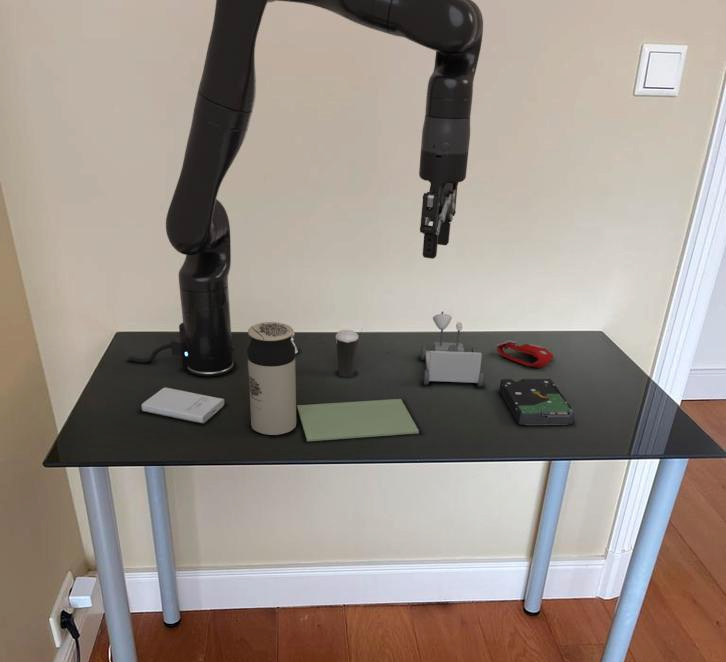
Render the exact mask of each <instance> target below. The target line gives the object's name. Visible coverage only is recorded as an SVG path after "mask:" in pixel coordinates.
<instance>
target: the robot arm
mask: <svg viewBox="0 0 726 662" xmlns="http://www.w3.org/2000/svg"><path fill="white" fill-rule="evenodd" d="M274 2H287V3H297V4H305V5H309V6H313V7H317V8H320V9H324V10H327V11H328V12H330V13H331V12H332V13H333V14H335V15H338V16H340V17H341V18H344V19H346V20H348V21H350V22H353V23H355V24H356V25H360V26H362V27H366V28H369V29H372V30H374V31H376V32H377V31H378V32H380V33H384V34H387V35H390V36H394V37H400V38H404V39H407V40H408V41H411V42H413V43H415V44H417V45H420V46H422V47H424V48H427V49H429V50H432V51H435V57H434V65H433V66H434V67H433V71H432V73H431V75H430V76H429V79H428V82H427V88H426V96H425V109H424V110H425V111H424V112H425V113H424V120H423V125H422V130H421V144H420V154H419V155H420V156H419V157H420V158H419V170H418V177H419V178H420V179H421V180H423V181H426V182H427V181H428V182H429V183H430V186H429V190H428V191H427V192H424V193H423V195H422V203H421V214H420V215H421V216H420V226H419V232H420V234H422V235H423V244H422V257H423V258H426V259H435V258H436V257H437V255H438V254H437V252H438V246H448V244H449V242H450V233H451V232H450V231H451V223H452V222H453V220H454V217H455V215H456V211H457V210H456V208H457V207H456V206H457V196H458V185H459V183H462V182H463V181H465V180H466V178H467V169H468V162H469V161H468V159H469V150H470V140H471V115H472V106H473V97H474V96H473V95H474V81H475V76H476V72H477V68H478V64H479V63H478V62H479V59H480V58H479V57H480V55H481V49H482V42H483V34H484V17H483V14H482V11H481V8H480V7H479V6H478V5H477V4H476V2H475V1H473V0H216V1H215V9H214V16H213V21H212V28H211V31H210V37H209V42H208V46H207V50H206V55H205V60H204V63H203V69H202V73H201V77H200V81H199V85H198V89H197V94H196V98H195V102H194V108H193V113H192V119H191V124H190V129H189V133H188V137H187V141H186V147H185V151H184V157H183V163H182V166H181V169H180V173H179V177H178V180H177V183H176V186H175V189H174V192H173V196H172V198H171V201H170V204H169V207H168V210H167V214H166V218H165V233H166V236H167V239H168V241H169V243H170V245H171V246H172V247H173V249H174V250H175V251H176V252H178V253H180V254H182V255H185V258H184V261H183V264H182V265H181V267H180V268H179V271H178V286H179V287H178V288H179V297H180V307H181V315H182V322H181V323H180V324H179V325H178V330H179V335H177V336H176V337H175V338H173V339H171V340H170V343H168V344H167V343H166V344H164V345H161V346H159V347H156V348H155V349H154V350H153V351H152V353H151V355H150V356H149V357H148V358H137V357H133V356H128V361H129V362H133V363H134V362H135V363H139V364H148V363H151V362H152V361H153V360H154V359H155V357H156V356H157V355H158V353H159V352H162V351H163V350H167V349H171V354H172V355H173V356H179V357H181V360H182V369H183V370H184V371H187V372H188V373H190V374H192V375H194V376H197V377H203V378H205V377H206V378H211V377H219V376H224V375H226V374H228V373H230V372H231V371H233V370H234V368H235V365H234V356H233V354H235V348H234V346H233V341H232V323H231V307H230V306H231V305H230V294H229V293H230V292H229V273H230V272H231V271H230V270H231V265H232V254H231V253H232V248H231V247H232V246H231V242H232V241H231V225H230V219H229V216H228V213H227V210H226V208H225V206H224V205H223V203H222V202H221V201H220V200H219V199H218V198H217V197H218V194H219V192H220V191H219V190H220V188H221V185H222V183H223V181H224V178H225V177H226V174H227V173H228V171H229V170H230V168H231V166H232V164H233V163H234V161H235V159H236V158H237V156H238V154H239V152H240V150H241V148H242V146H243V144H244V141H245V139H246V137H247V134H248V131H249V127H250V123H251V120H252V119H251V118H252V115H253V111H254V107H255V103H256V95H257V76H256V75H257V74H256V58H255V57H256V44H257V38H258V33H259V30H260V27H261V24H262V21H263V15H264V13H265V10H266V7H267V4H269V3H274ZM430 223H432V225H429V224H430Z"/></svg>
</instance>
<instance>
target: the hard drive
mask: <svg viewBox="0 0 726 662" xmlns="http://www.w3.org/2000/svg"><path fill="white" fill-rule="evenodd" d="M224 406H225V398H221V397H216V396H215V397H214V396H210V395H205V394H201V393H195V392H190V391H186V390H181V389H175V388H170V387H166V386H165V387H163V388H161V389H160V390H159V391H157V392H156V393H154V394H153V395H152V396H150V397H148V399H146V400H145V401H144V402H143V403H141V411H142V412H146V413H150V414H155V415H160V416H164V417H170V418H174V419H180V420H184V421H189V422H193V423H199V424H205V423H207V422H208V421H209V419H211V418H212V417H213V416H214V415H215V414H217V413H218V412H219V411H220V410H221V409H222V408H223V407H224Z"/></svg>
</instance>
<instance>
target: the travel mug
mask: <svg viewBox="0 0 726 662" xmlns="http://www.w3.org/2000/svg"><path fill="white" fill-rule="evenodd" d="M293 331H294V328H293V327H292V326H290V325H288V324H286V323H283V322H277V321H276V322H275V321H265V322H260V323H256V324H253V325H251V326H250V327H249V328H248V330H247V335H249V338H250V341H249V343H248V346H247V348H246V349H247V350H246V351H247V370H248V387H249V388H248V389H249V406H250V407H249V409H250V425H251V428H252V430H254V431H255V432H257V433H260V434H263V435H266V436H279V435H284V434H287V433H289V432H291V431H293V430H294V429H295V428H296V427H297V382H296V381H297V379H296V378H297V377H296V354H295V347H294V345H293V343H292V341H291V336H292V334H293Z"/></svg>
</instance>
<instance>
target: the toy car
mask: <svg viewBox="0 0 726 662" xmlns="http://www.w3.org/2000/svg"><path fill="white" fill-rule="evenodd" d="M440 312H441V313H439V314H435V315H433V316H432V320H433V322H434V324H435V326H436V327H437V328H438V329H439V330H440V339H439V341H434V343H433V349H434V350H427V346H426V345H422V346H421V349H420V360H421V361H425V366H426V369H424V370H423V385H424V386H429V384H430V382H446V383H447V382H450V383H473V384H474V383H475V384H476V386H477V387H478V388H483V386H484V377H485V376H484V372H483V371H481V366H482V357H483V354H482V352H478V349H477V347H472V348H471V351H465V349H464V344H463V343H462V342H460V341H459V340H460V332H461V331H463V323H462V322H461V321H460V322H459V321H457V322H456V325H455V328H456V331H457V335H456V342H445V341H443V334H444V330H446V329H447V328H448V326H449V325H450V323H451V321H452V319H453V317H452V315H450V314H446V313H444V311H440Z"/></svg>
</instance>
